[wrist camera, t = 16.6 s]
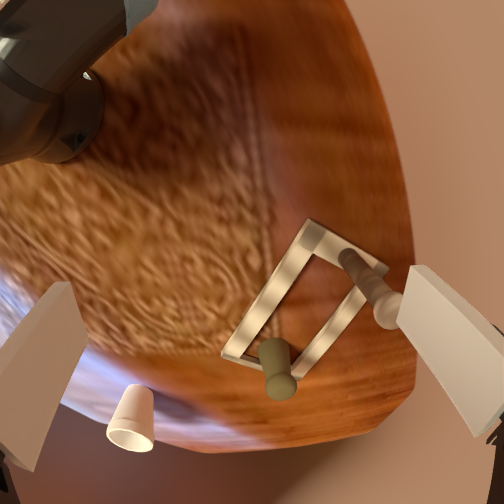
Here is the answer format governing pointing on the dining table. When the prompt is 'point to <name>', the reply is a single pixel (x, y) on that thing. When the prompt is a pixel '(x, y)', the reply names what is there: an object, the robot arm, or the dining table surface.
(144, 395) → the foam cup
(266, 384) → the cork
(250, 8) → the dining table surface
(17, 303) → the dining table surface
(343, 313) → the joystick on frame
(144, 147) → the dining table surface
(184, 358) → the dining table surface
